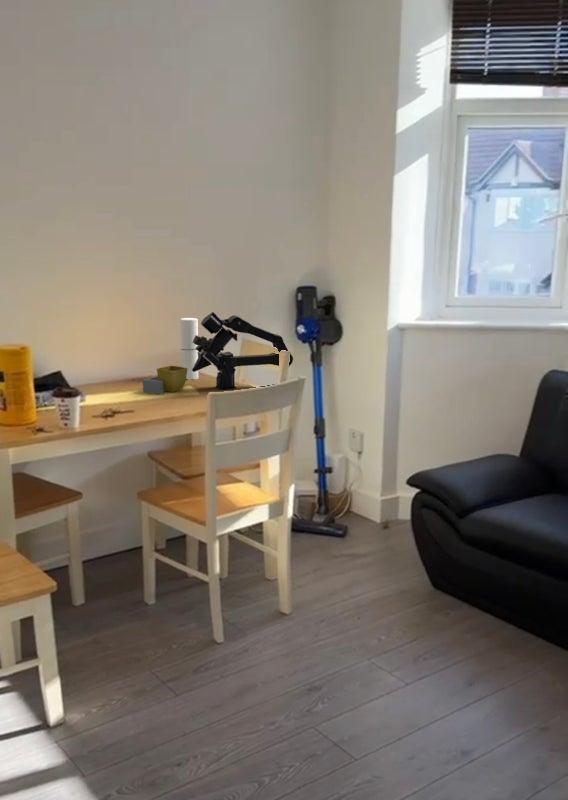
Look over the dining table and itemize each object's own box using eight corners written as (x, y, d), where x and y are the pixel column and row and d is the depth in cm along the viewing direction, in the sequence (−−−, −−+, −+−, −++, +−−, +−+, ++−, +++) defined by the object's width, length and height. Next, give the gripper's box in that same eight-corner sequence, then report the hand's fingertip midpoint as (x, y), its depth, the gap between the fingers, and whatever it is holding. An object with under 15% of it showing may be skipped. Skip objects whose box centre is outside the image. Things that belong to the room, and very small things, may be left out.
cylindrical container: (179, 379, 323) (178, 319, 317) (184, 375, 330) (183, 317, 324) (195, 380, 322) (195, 320, 316) (200, 376, 329) (199, 318, 323)
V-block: (158, 387, 307) (158, 375, 305) (163, 394, 295) (163, 381, 294) (141, 388, 304) (140, 376, 303) (145, 395, 293) (145, 382, 292)
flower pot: (188, 390, 304) (188, 367, 302) (173, 394, 296) (173, 371, 294) (171, 387, 308) (170, 365, 306) (156, 391, 301) (156, 368, 299)
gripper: (199, 324, 309) (173, 353, 309) (210, 331, 292) (182, 362, 291) (219, 343, 313) (193, 371, 313) (230, 350, 296) (203, 381, 296)
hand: (192, 371), depth 303 cm, fingers closed
